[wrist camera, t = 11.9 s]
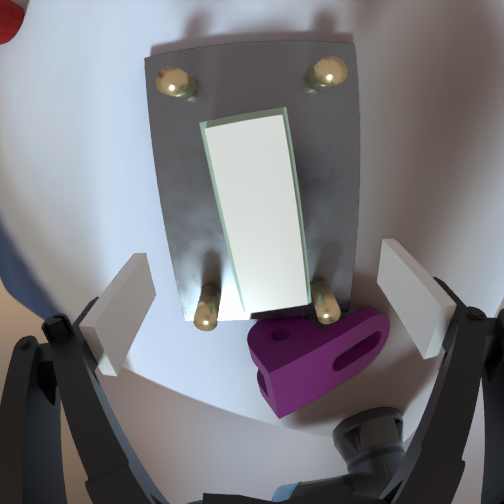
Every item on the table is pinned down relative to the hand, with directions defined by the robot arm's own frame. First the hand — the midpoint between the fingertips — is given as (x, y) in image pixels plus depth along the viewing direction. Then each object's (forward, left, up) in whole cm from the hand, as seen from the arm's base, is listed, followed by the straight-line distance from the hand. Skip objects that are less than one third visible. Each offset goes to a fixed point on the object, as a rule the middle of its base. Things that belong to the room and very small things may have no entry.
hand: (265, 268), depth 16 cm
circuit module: (0, 0, -14) cm, 14 cm away
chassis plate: (0, 0, -16) cm, 16 cm away
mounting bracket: (-20, -7, -16) cm, 26 cm away
